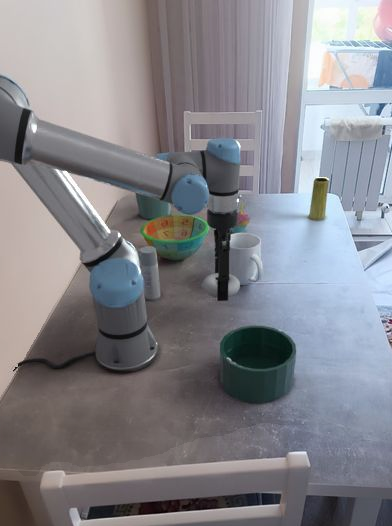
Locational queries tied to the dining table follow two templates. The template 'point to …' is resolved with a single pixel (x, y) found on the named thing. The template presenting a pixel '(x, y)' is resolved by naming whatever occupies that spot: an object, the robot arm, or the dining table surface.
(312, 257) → the dining table surface
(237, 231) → the cupcake
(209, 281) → the donut
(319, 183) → the vase
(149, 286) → the container
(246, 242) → the mug
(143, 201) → the flower pot
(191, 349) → the dining table surface
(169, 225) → the bowl
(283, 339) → the pot
